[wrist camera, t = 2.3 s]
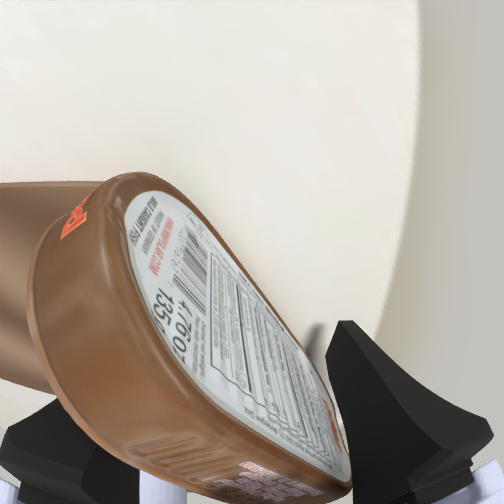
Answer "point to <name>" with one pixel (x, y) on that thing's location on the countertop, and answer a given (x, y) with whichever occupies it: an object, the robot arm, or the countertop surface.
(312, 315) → the countertop surface
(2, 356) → the board
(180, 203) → the tin
